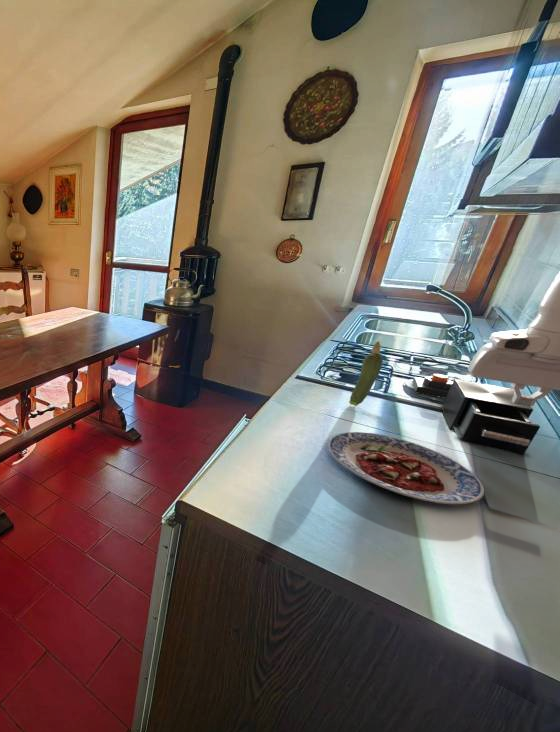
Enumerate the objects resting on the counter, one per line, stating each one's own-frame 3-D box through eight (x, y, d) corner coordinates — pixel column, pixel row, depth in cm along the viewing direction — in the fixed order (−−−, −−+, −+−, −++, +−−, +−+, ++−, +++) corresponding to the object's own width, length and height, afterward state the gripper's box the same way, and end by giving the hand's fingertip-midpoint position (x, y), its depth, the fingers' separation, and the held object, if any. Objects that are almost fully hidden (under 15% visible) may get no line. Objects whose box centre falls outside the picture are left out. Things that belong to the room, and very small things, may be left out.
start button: (445, 380, 123) (447, 375, 122) (447, 384, 120) (449, 378, 119) (430, 377, 125) (432, 372, 124) (431, 381, 122) (434, 376, 121)
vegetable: (354, 401, 117) (378, 337, 108) (369, 408, 113) (395, 342, 105) (344, 403, 115) (367, 339, 107) (358, 410, 111) (383, 343, 103)
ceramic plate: (513, 527, 70) (521, 514, 69) (345, 493, 78) (349, 481, 77) (438, 451, 92) (444, 441, 91) (313, 431, 100) (317, 421, 99)
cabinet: (513, 444, 95) (533, 409, 92) (449, 429, 102) (465, 396, 98) (497, 421, 106) (515, 389, 102) (440, 409, 113) (454, 378, 109)
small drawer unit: (529, 465, 86) (547, 435, 83) (464, 449, 91) (479, 420, 88) (506, 432, 99) (521, 404, 96) (450, 420, 105) (463, 393, 102)
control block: (452, 390, 125) (457, 378, 123) (458, 401, 118) (464, 389, 116) (411, 382, 130) (416, 371, 129) (415, 392, 123) (420, 381, 121)
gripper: (627, 348, 77) (589, 411, 82) (481, 332, 88) (456, 388, 93) (645, 357, 72) (603, 422, 77) (488, 338, 83) (461, 397, 88)
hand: (521, 403), depth 85 cm, fingers closed
